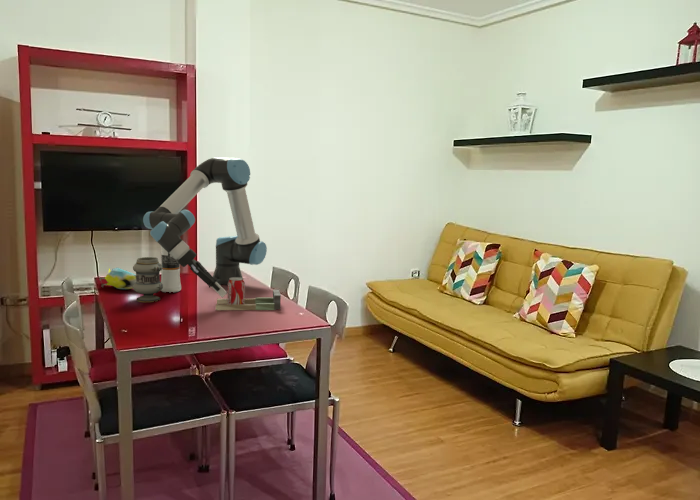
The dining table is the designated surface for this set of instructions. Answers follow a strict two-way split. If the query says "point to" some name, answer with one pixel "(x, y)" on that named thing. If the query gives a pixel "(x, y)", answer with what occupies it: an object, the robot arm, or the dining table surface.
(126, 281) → the decorative bird
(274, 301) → the guide channel
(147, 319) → the dining table surface
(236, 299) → the soda can
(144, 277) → the apothecary jar
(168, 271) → the vodka
